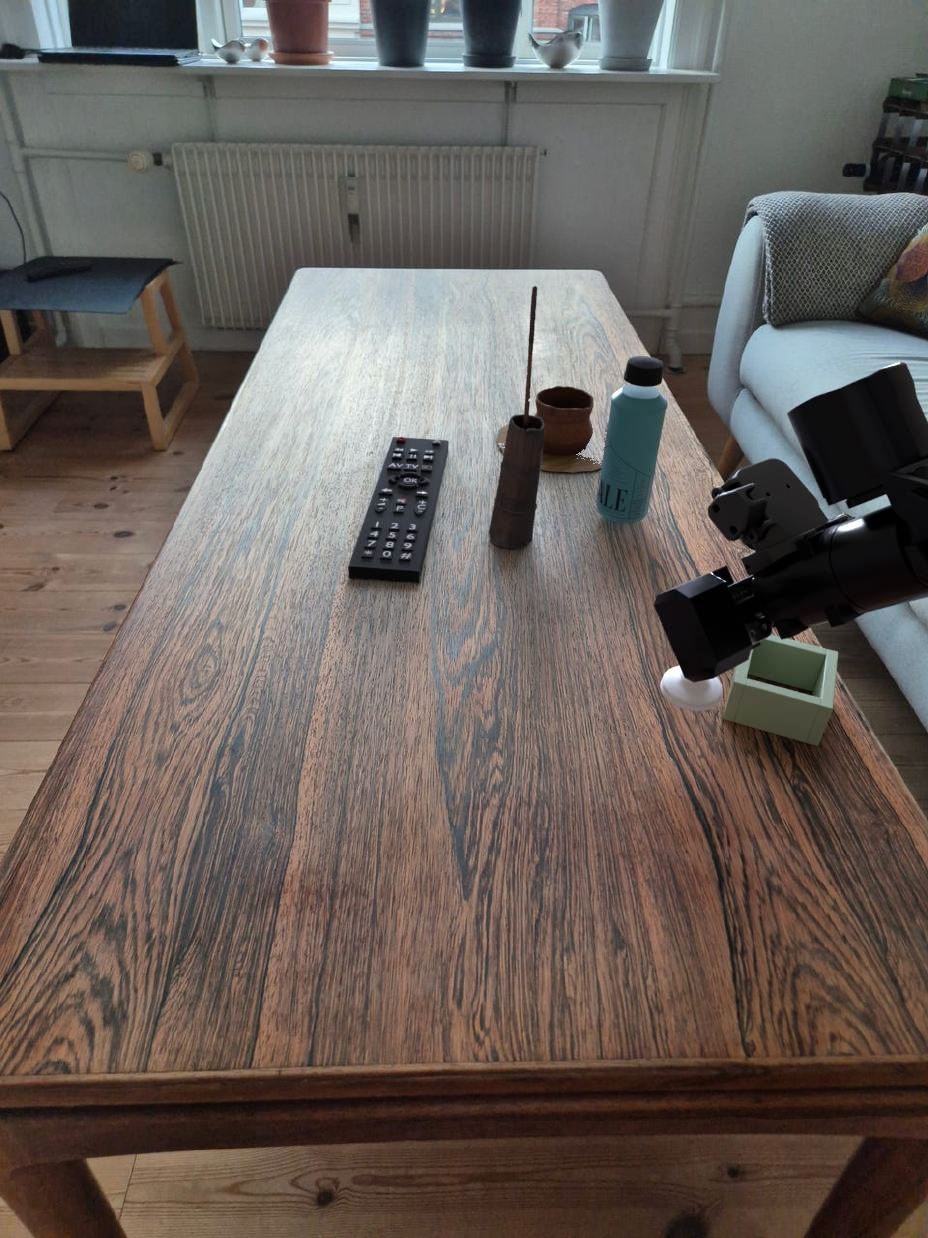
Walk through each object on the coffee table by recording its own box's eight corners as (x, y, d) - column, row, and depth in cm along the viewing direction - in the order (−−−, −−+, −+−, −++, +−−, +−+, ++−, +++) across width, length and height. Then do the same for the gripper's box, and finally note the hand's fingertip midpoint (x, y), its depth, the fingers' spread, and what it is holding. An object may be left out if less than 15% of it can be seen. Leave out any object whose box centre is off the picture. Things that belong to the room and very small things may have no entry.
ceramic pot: (635, 473, 112) (644, 424, 107) (503, 474, 110) (506, 424, 106) (608, 416, 126) (614, 370, 121) (490, 416, 125) (493, 370, 120)
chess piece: (735, 696, 68) (764, 595, 62) (692, 720, 65) (719, 617, 59) (689, 663, 71) (713, 564, 65) (647, 684, 69) (668, 584, 62)
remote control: (448, 450, 116) (448, 436, 114) (419, 583, 90) (419, 567, 89) (393, 446, 116) (393, 433, 115) (348, 578, 91) (347, 562, 89)
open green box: (824, 688, 79) (838, 651, 76) (817, 746, 73) (833, 709, 70) (735, 664, 81) (746, 628, 78) (722, 719, 75) (733, 681, 72)
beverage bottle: (650, 513, 104) (680, 353, 91) (642, 540, 99) (673, 375, 86) (598, 503, 105) (620, 345, 93) (587, 529, 100) (610, 366, 88)
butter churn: (552, 569, 93) (581, 314, 76) (467, 559, 94) (477, 305, 77) (557, 526, 100) (586, 284, 83) (479, 518, 101) (490, 277, 84)
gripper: (899, 411, 56) (734, 491, 70) (705, 482, 47) (561, 557, 61) (967, 565, 55) (787, 615, 69) (784, 665, 47) (621, 699, 61)
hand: (694, 617), depth 65 cm, fingers closed on chess piece
